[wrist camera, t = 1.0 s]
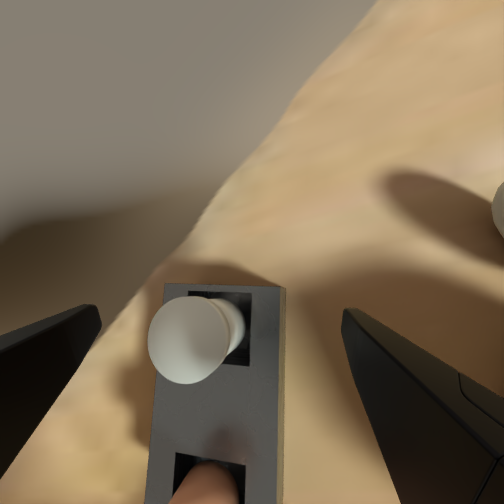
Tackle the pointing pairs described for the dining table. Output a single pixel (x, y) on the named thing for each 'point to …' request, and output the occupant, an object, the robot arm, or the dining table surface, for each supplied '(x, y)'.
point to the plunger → (194, 337)
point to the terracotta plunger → (207, 486)
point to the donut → (499, 209)
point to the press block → (226, 405)
